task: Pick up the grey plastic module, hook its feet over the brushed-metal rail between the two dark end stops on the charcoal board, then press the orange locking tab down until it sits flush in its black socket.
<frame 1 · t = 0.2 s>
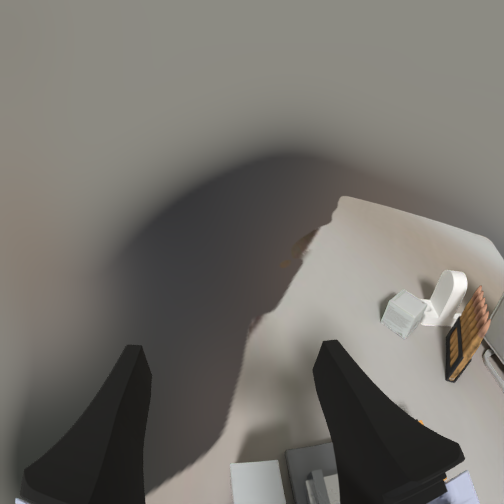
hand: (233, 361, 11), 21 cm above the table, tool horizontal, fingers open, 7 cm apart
ammunition clip: (450, 359, 35), on the table
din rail: (375, 477, 19), on the mounting board, point 1 cm above the table
cable organizer: (437, 317, 44), on the table
mounting board: (366, 482, 20), on the table
locking tab: (423, 455, 19), point 4 cm above the table, slide at 0.0 cm
small box: (398, 324, 43), on the table
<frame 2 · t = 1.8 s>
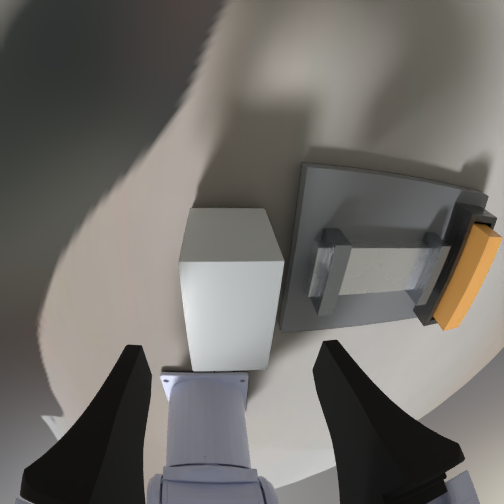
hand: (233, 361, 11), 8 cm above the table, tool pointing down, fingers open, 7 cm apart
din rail: (408, 270, 17), on the mounting board, point 1 cm above the table
module: (225, 255, 18), on the table
mounting board: (393, 255, 19), on the table
locking tab: (466, 279, 17), point 4 cm above the table, slide at 0.0 cm
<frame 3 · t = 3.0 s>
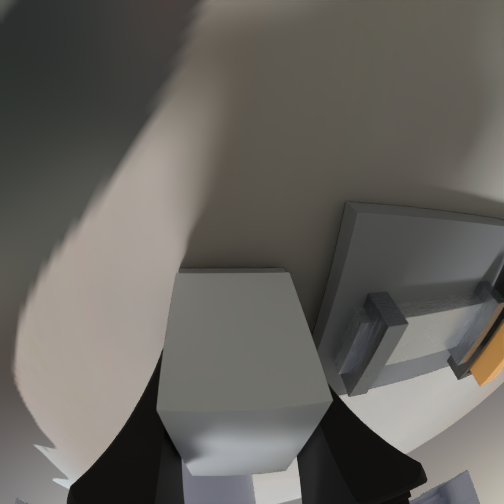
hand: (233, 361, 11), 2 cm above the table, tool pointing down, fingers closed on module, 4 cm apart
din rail: (456, 329, 12), on the mounting board, point 1 cm above the table
module: (230, 326, 12), on the table, touching gripper
mounting board: (437, 307, 14), on the table
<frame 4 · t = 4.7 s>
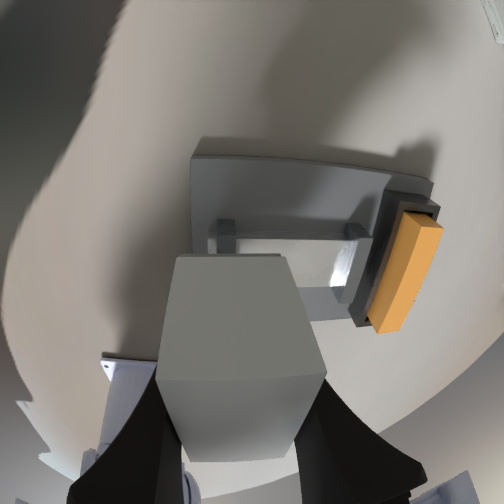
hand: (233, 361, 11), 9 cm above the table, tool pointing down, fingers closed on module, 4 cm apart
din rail: (324, 264, 17), on the mounting board, point 1 cm above the table
module: (229, 312, 13), point 6 cm above the table, touching gripper
mounting board: (313, 248, 19), on the table
locking tab: (403, 277, 17), point 4 cm above the table, slide at 0.0 cm
small box: (497, 16, 9), on the table
when the fingers open (4 cm above the table, at t = 6.6 s): module stays where it is, resting on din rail.
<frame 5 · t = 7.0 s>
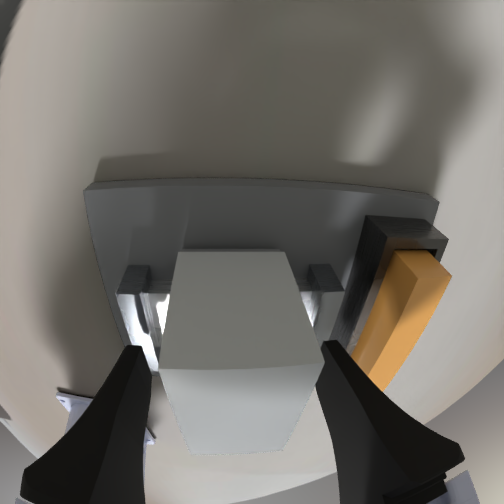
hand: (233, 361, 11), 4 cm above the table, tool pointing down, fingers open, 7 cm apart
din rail: (277, 321, 13), on the mounting board, point 1 cm above the table
module: (229, 307, 13), point 1 cm above the table, touching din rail
mounting board: (267, 294, 14), on the table
locking tab: (389, 335, 12), point 4 cm above the table, slide at 0.0 cm
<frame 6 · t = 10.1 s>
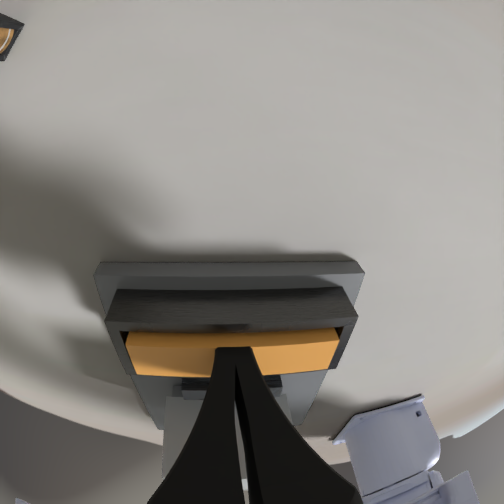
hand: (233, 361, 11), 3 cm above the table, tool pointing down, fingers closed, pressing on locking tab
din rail: (230, 395, 15), on the mounting board, point 1 cm above the table
module: (225, 401, 16), point 1 cm above the table, touching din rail
mounting board: (229, 370, 16), on the table
locking tab: (232, 344, 11), point 2 cm above the table, slide at 1.1 cm, touching gripper
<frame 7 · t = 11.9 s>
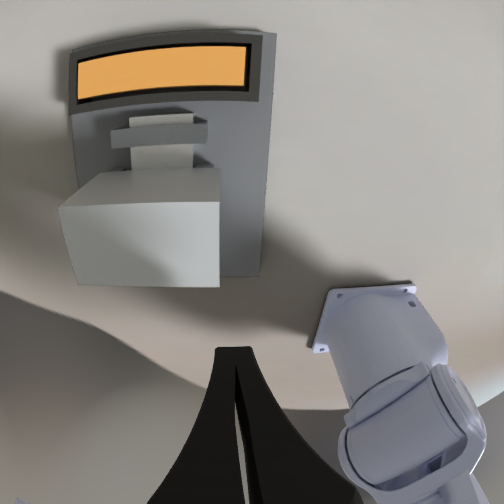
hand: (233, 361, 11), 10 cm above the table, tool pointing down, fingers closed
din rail: (161, 165, 14), on the mounting board, point 1 cm above the table
module: (161, 197, 16), point 1 cm above the table, touching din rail
mounting board: (167, 160, 16), on the table
locking tab: (159, 69, 11), point 2 cm above the table, slide at 1.2 cm
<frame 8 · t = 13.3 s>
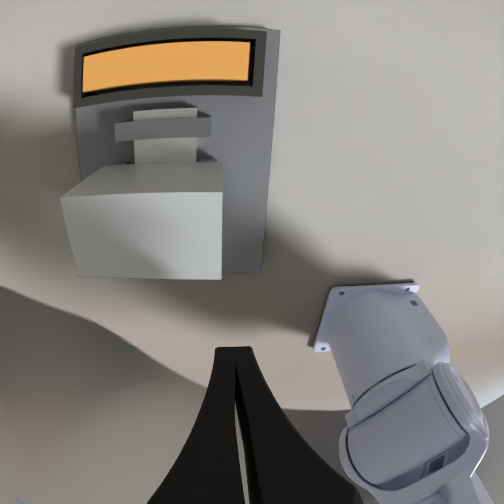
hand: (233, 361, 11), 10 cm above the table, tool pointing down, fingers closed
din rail: (164, 159, 14), on the mounting board, point 1 cm above the table
module: (164, 191, 16), point 1 cm above the table, touching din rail
mounting board: (171, 155, 16), on the table
locking tab: (164, 64, 11), point 2 cm above the table, slide at 1.2 cm
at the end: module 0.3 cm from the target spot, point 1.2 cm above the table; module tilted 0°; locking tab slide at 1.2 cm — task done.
